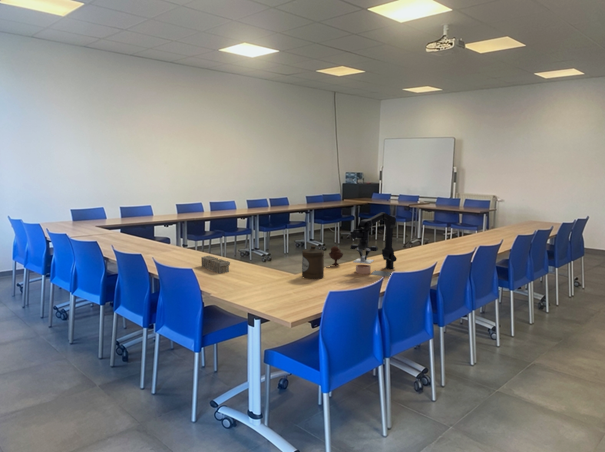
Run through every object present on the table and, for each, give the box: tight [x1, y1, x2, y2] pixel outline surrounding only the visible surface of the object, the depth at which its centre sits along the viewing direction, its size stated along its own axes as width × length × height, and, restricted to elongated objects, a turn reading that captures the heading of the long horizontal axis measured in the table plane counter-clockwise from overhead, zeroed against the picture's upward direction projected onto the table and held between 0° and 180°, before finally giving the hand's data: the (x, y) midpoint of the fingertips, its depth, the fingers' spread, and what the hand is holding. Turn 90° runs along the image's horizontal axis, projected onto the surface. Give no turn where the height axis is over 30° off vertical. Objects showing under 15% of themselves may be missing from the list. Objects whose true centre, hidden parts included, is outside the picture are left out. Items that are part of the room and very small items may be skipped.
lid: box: [352, 255, 375, 265], centre depth 307 cm, size 12×12×4 cm
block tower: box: [201, 255, 231, 274], centre depth 312 cm, size 8×8×29 cm
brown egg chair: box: [328, 245, 344, 267], centre depth 331 cm, size 11×11×15 cm
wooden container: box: [301, 244, 325, 280], centre depth 293 cm, size 15×15×22 cm
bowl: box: [355, 263, 371, 275], centre depth 308 cm, size 10×10×5 cm
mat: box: [369, 270, 392, 278], centre depth 306 cm, size 14×14×1 cm
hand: (363, 259), depth 307 cm, fingers closed on lid, 2 cm apart
